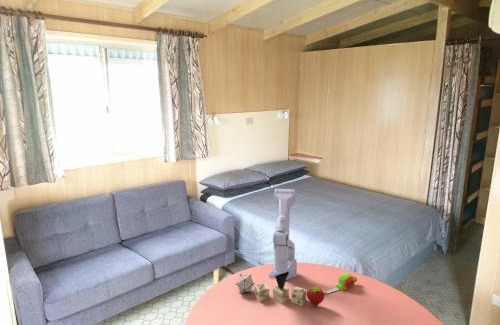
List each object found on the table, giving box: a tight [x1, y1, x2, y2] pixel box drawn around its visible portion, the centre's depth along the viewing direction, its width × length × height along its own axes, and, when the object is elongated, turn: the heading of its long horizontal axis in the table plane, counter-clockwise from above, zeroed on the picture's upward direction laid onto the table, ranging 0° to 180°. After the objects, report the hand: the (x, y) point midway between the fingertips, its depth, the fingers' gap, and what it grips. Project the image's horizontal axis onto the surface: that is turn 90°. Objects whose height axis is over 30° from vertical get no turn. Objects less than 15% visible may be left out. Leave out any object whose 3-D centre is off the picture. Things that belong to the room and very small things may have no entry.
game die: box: [235, 273, 256, 295], centre depth 156 cm, size 9×8×10 cm
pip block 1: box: [254, 282, 270, 302], centre depth 152 cm, size 5×5×5 cm
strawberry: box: [306, 285, 326, 307], centre depth 144 cm, size 6×8×10 cm
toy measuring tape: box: [321, 272, 358, 295], centre depth 158 cm, size 6×20×7 cm, turn 115°
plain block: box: [272, 285, 290, 304], centre depth 151 cm, size 5×5×5 cm
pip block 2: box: [290, 286, 307, 307], centre depth 149 cm, size 5×5×5 cm
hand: (281, 287), depth 150 cm, fingers closed
